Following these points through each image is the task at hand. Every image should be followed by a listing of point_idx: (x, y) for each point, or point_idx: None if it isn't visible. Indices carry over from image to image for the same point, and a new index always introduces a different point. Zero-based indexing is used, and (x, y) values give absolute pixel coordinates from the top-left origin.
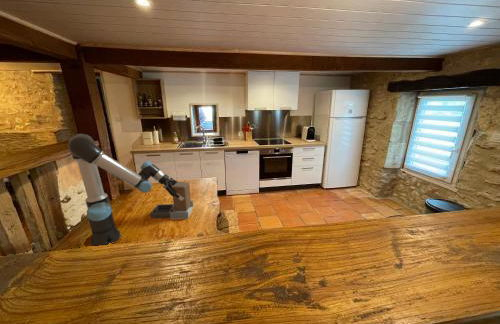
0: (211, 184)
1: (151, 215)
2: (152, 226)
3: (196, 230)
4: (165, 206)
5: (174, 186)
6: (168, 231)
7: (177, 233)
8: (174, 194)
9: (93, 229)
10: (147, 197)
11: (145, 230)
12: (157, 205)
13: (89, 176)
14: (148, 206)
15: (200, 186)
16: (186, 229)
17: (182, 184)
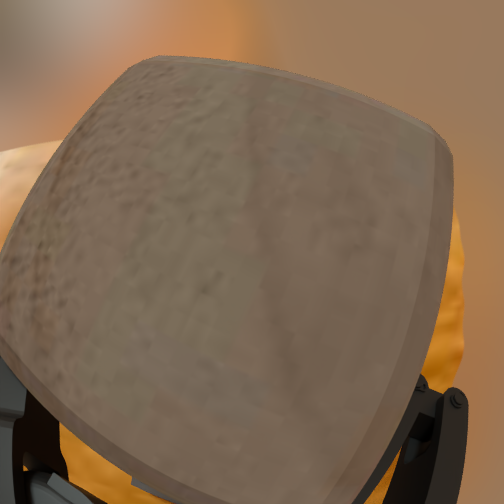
0: (19, 153)
1: None
2: None
3: (454, 244)
4: None
5: (358, 472)
6: (435, 389)
7: (460, 338)
8: (453, 394)
9: None
10: (24, 469)
11: (377, 500)
12: (144, 486)
13: None
14: (105, 499)
15: (4, 200)
16: (443, 294)
17: (248, 148)
